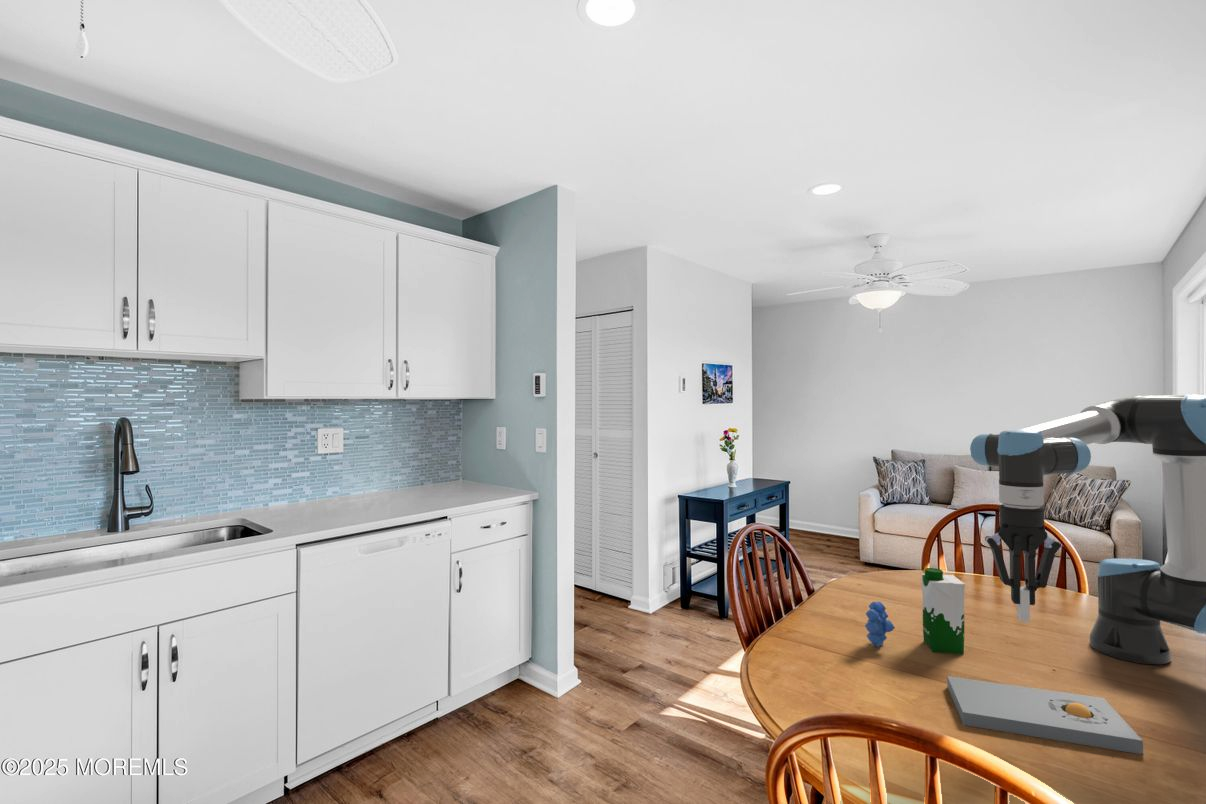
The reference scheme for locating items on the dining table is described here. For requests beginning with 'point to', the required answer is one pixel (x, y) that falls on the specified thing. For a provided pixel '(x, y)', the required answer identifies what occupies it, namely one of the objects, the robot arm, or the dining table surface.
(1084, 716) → the ball
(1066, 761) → the dining table surface
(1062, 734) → the plate
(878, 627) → the grapes
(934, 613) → the milk carton
